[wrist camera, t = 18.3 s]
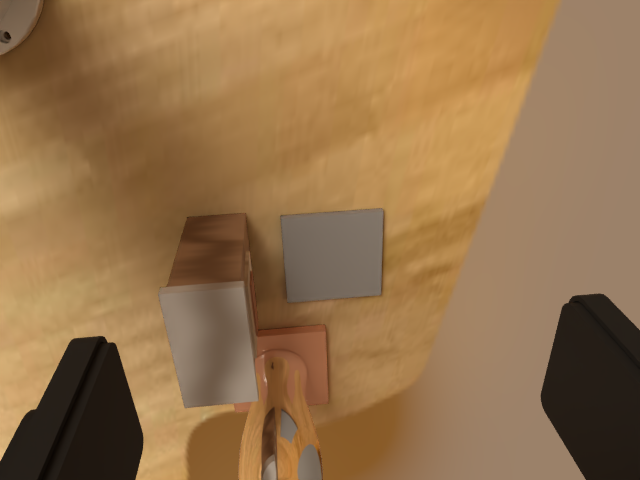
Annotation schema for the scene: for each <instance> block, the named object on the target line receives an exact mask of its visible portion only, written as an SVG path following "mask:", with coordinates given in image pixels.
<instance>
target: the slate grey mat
mask: <svg viewBox="0 0 640 480" xmlns="http://www.w3.org/2000/svg"><path fill="white" fill-rule="evenodd" d="M281 228H282V240H283V253H284V265H285V277H286V289H287V301H288V303H291V302H303V301H315V300H327V299H339V298H351V297H363V296H375V295H381V278H382V243H383V209H382V208H379V209H365V210H352V211H338V212H324V213H311V214H297V215H283V216H281Z"/></svg>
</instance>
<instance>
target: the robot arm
mask: <svg viewBox="0 0 640 480" xmlns="http://www.w3.org/2000/svg"><path fill="white" fill-rule="evenodd" d="M43 2H44V0H0V55H3V54H4V53H6V52H8V51H10V50H12V49H14V48H16V47H17V46H18V45H19V44H20V43H21V42H23V41H24V40H25V39H26V38H27V37H28V36H29V34H30V33H31V31H32V30H33V28H34V27H35V25H36V24H37V21H38V19H39V16H40V14H41V11H42V8H43ZM6 32H8V33H9V34H10V36H11V39H9V38H8V37H7V35H6ZM541 402H542V406H543V409H544V411H545V413H546V414H547V416H548V418H549V419H550V421H551V423H552V424H553V426H554V428H555V429H556V431H557V433H558V434H559V436H560V438H561V439H562V441H563V442H564V444H565V446H566V448H567V449H568V451H569V453H570V454H571V456H572V457H573V459H574V461H575V462H576V464H577V466H578V467H579V469H580V471H581V472H582V474H583V475H584V477H585V479H586V480H640V330H639V329H638V328H637V327H636V326H635V325H634V324H633V323H632V322H631V321H630V320H629V319H628V318H627V317H626V316H625V315H624V314H623V313H622V312H621V311H620V310H619V309H618V308H617V307H616V306H615V305H614V304H613V303H612V302H611V301H610V299H609V298H608V297H606V296H605V295H604V294H589V295H577V296H573V297H572V298H571V299H570V301H569V303H566V304H564V306H563V307H562V310H561V314H560V318H559V322H558V326H557V330H556V334H555V339H554V343H553V347H552V351H551V355H550V359H549V363H548V367H547V371H546V375H545V379H544V383H543V388H542V391H541ZM142 450H143V433H142V429H141V426H140V422H139V419H138V416H137V412H136V409H135V406H134V402H133V399H132V396H131V392H130V389H129V386H128V382H127V379H126V376H125V372H124V369H123V366H122V363H121V359H120V356H119V353H118V349H117V346H116V344H115V343H113V342H112V343H108V342H107V340H106V339H105V337H103V336H98V337H86V338H74V339H73V340H71V342H70V343H69V345H68V347H67V349H66V351H65V353H64V355H63V357H62V359H61V361H60V363H59V365H58V367H57V369H56V371H55V373H54V375H53V377H52V379H51V381H50V383H49V385H48V387H47V389H46V391H45V393H44V395H43V397H42V399H41V401H40V403H39V405H38V407H37V409H35V410H31V411H29V412H28V413H27V414H26V415H25V416H24V418H23V419H22V421H21V423H20V425H19V426H18V428H17V430H16V432H15V434H14V436H13V438H12V440H11V442H10V444H9V446H8V448H7V450H6V451H5V453H4V455H3V457H2V459H1V461H0V480H135V479H136V475H137V471H138V467H139V463H140V459H141V455H142Z"/></svg>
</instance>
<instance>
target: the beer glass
mask: <svg viewBox="0 0 640 480" xmlns="http://www.w3.org/2000/svg"><path fill="white" fill-rule="evenodd" d="M255 369H256V377H257V385H258V392H259V401H254V402H251V404H250V409H249V413H248V416H247V420H246V424H245V428H244V432H243V436H242V441H241V446H240V455H239V469H238V480H323V472H322V458H321V451H320V444H319V440H318V436H317V433H316V429H315V426H314V423H313V419H312V416H311V413H310V410H309V407H308V404H307V400H306V382H307V375H308V370H307V366H306V363H305V362H304V360H303V359H302V358H301V357H300V356H298V355H297V354H295V353H293V352H290V351H286V350H272V351H268V352H265V353H263V354H261V355H259V356H258V357H257V358H255Z"/></svg>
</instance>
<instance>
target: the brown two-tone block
mask: <svg viewBox="0 0 640 480" xmlns="http://www.w3.org/2000/svg"><path fill="white" fill-rule="evenodd" d="M158 296H159V301H160V305H161V309H162V313H163V318H164V322H165V326H166V330H167V335H168V339H169V343H170V347H171V352H172V356H173V360H174V365H175V369H176V373H177V377H178V382H179V386H180V390H181V394H182V399H183V403H184V407H185V408H191V407H202V406H212V405H223V404H233V403H244V402H254V401H259V392H258V385H257V377H256V369H255V358H257V336H258V316H257V305H256V296H255V288H254V280H253V271H252V263H251V254H250V246H249V238H248V229H247V221H246V213H239V214H226V215H212V216H198V217H187V220H186V223H185V227H184V230H183V233H182V237H181V240H180V244H179V247H178V250H177V254H176V257H175V260H174V264H173V267H172V271H171V274H170V277H169V281H168V284H167V287H160V290H159V293H158Z"/></svg>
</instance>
